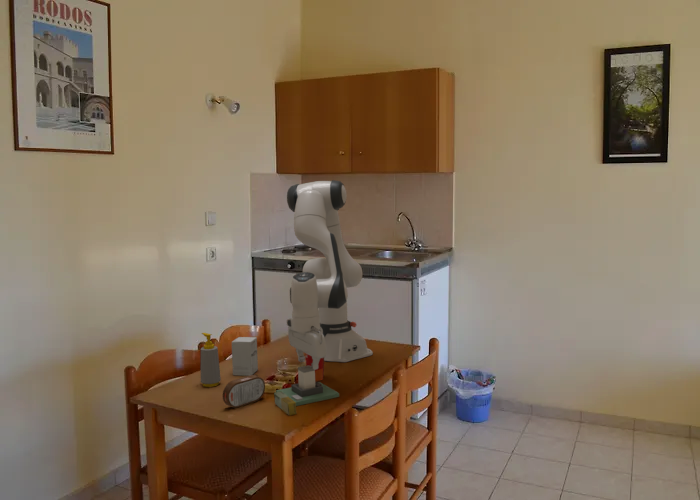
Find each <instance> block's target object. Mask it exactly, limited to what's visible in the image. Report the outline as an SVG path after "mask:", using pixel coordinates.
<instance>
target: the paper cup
mask: <svg viewBox="0 0 700 500" xmlns="http://www.w3.org/2000/svg"><path fill="white" fill-rule="evenodd" d="M304 356H305V366H307V365H310V366H311V363H313V359H312V356H310V355H308V354H306V353H304ZM324 372H325V361H324V358H320V361H319V363H318V369H316V370H315V382H321V381H323V380H324V376H325V375H324Z"/></svg>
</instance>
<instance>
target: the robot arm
mask: <svg viewBox="0 0 700 500" xmlns="http://www.w3.org/2000/svg"><path fill="white" fill-rule="evenodd" d="M347 194H348V192H347V189H346V187H345V185H344V183H343V182H342V181H341V180H334V179H333V180H318V181H317V180H316V181H311V182H306V183H300V184H299V183H297V184H294V185H291V186H290V187H289V188H288V189H287V192H286V203H287V207H288V208H289V209H290V211H292V212H293V213H294V215H293V229H294V235H295V237H296V239H298V241H299V242H300V243H302V244H303V245H305V246H308V247H310V248H313V249H315V250H318V251H319V252H321V253H322V254H323V256H324V257H315V258H311V259H307V260H306V262H305V263H304V264H303V267H302V272H298V273H296V274H294V275H292V277H291V286H290V288H289V301H290V304H291V305H292V306H291V307H292V313H291V318H288V319H287V318H286V325H287V331H288V332H287V334H288V342H289V345H290V346H291V347H293V348H295V352H296V355H297V359H298V362H300V363H304V362H305V363H306V358H305V353H306V354H308V355H310V356H312V359H313V363H311V366H312V367H311V368H312V369H314V370H316V369H318V363H319V361H320V358H324V362H338V363H347V362H352V361H354V360H359V359H362V358H366V357H370V356H372V355H373V353H374V352H373V350H371V349H370V348H368V346H367V341H366V340H365V338H364V337H363V336H362V335H361V334H359V333H358V332H356V331H354V330H353V328H356V327H357V322H356V321H350V320H348V303H347V302H348V298H349V297H348V294H349V292H348V288H353V287H357V286H359V284H360V282H361V281H362V279H363V268H362V266H361V265H360V263H359V262H357V260H355V259H354V258H353V257H352V256H351V255H350V253H349V251H348V250H347V248H346V246H345V243H344V240H343V235H342V229H341V228H342V227H341V226H342V225H341V221H340V215H339V214H340V213H339V211H340V209H342V208H343V207H344V206H345V204H346V201H347V198H348V197H347Z"/></svg>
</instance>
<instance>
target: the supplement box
mask: <svg viewBox="0 0 700 500" xmlns="http://www.w3.org/2000/svg"><path fill="white" fill-rule="evenodd" d="M257 339H258V337H255V336H253V337H252V336H243V337H242V336H238V337H237V338H235V339H234V340H232V341H231V359H232V360H231V361H232V375H233V376H242V377H246V376H250V375H255V373H257V372H258V370H259V364H258V340H257Z"/></svg>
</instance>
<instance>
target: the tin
mask: <svg viewBox="0 0 700 500" xmlns="http://www.w3.org/2000/svg"><path fill="white" fill-rule="evenodd" d="M265 390H266V382H265V380H264V379H263V378H262V377H260V376H259V375H257V374H253V375H250V376H242V377H239V378H236V379H233V380H230V381H229V382H228V383H226V385H225V386H224V389H223V391H222V400H223V402H224V404H225V405H226V406H228V407H231V408H239V407H242V406H245V405H246V406H247V405H249V404H252V403H255V402H258V401H259V400H261V398H262V397H263V396H264V394H265V392H266V391H265Z"/></svg>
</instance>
